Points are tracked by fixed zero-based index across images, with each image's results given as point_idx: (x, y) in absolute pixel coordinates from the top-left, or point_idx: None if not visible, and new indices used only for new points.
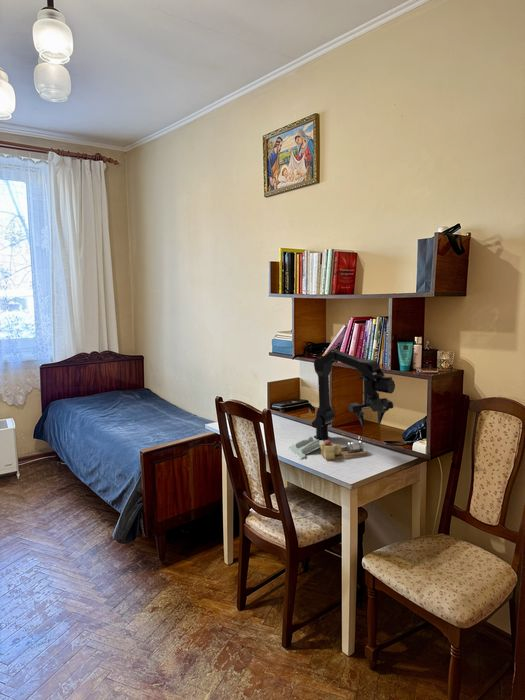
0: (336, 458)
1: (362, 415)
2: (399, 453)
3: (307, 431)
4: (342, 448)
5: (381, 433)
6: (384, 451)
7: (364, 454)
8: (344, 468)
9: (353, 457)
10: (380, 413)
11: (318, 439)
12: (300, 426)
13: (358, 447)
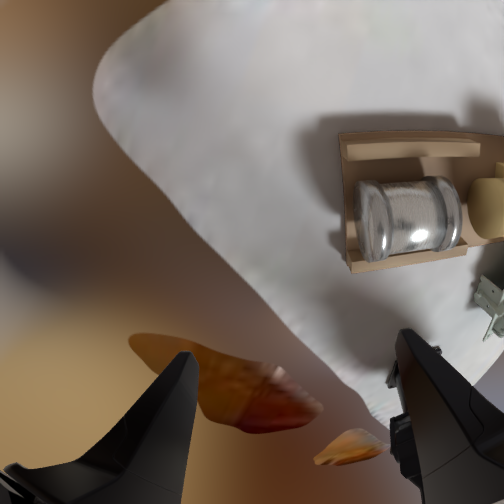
0: (491, 156)
1: (488, 445)
2: (129, 154)
3: None
4: None
5: None
6: (206, 195)
7: (360, 140)
8: (482, 44)
9: (425, 134)
10: (138, 473)
11: (500, 314)
12: None
13: (399, 188)
